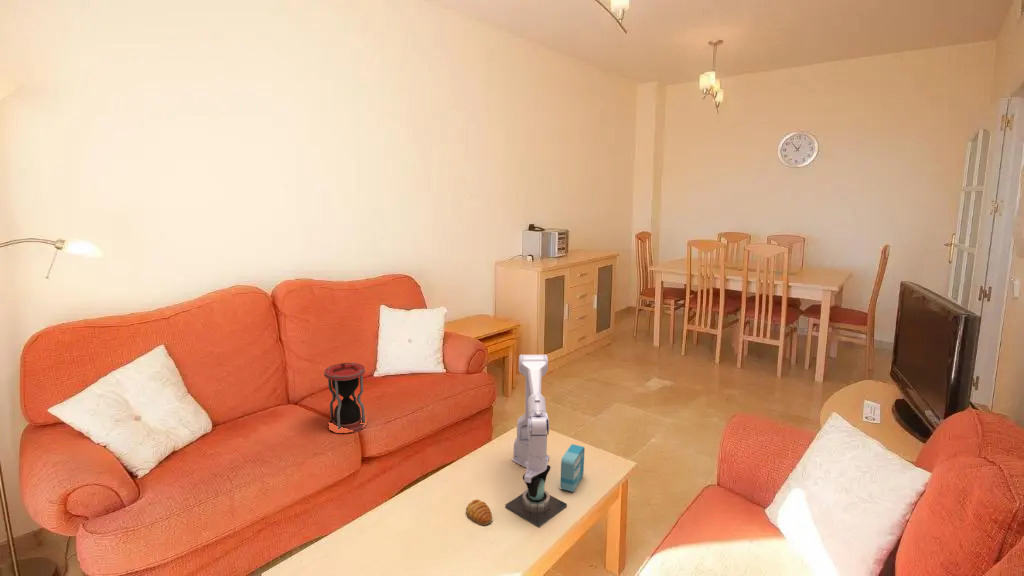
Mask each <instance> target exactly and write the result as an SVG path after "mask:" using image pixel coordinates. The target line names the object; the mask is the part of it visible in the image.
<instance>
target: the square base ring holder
mask: <svg viewBox="0 0 1024 576" xmlns="http://www.w3.org/2000/svg"><path fill="white" fill-rule="evenodd" d="M567 507H568V504H567V503H566V502H564V501H562V500H560V499H558V498H557V497H554V496H552V495H550V493H549V492H548V490H546V489H544V498H543V499H541V500H532V499H530V498H529V496H528V489H526V490H525V491H523V493H521V494H520V495H518V496H517V497H515V498H513V499H512V500H510V501H509V502H508V503H506V504H505V509H507V510H509V511H510V512H512V513H514V514H516V515H517V516H519V517H521V518H522V519H524V520H526V521H527V522H530V523H531V524H533V526H536V527H538V528H541V527H542V526H543V525H544V524H546V523H547V522H548V521H550V520H551V519H552V518H554V517H555V516H556V515H557V514H559V513H561V512H562V511H563V510H564V509H566V508H567Z"/></svg>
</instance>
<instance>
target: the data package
mask: <svg viewBox="0 0 1024 576" xmlns="http://www.w3.org/2000/svg"><path fill="white" fill-rule="evenodd" d="M568 447H569V448H568V449H567V450H566V452H564V454H563V456H562V457H561V462H560V483H559V484H560V486H559V487H560V489H561V490H564V491H568V492H571V493H574V492H575V490H576V489H577V487H578V486H579V484H580V483H581V480H582V478H583V476H584V471H585V470H584V469H585V468H584V467H585V449H586V448H585V446H581V445H578V444H570V446H568Z"/></svg>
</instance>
